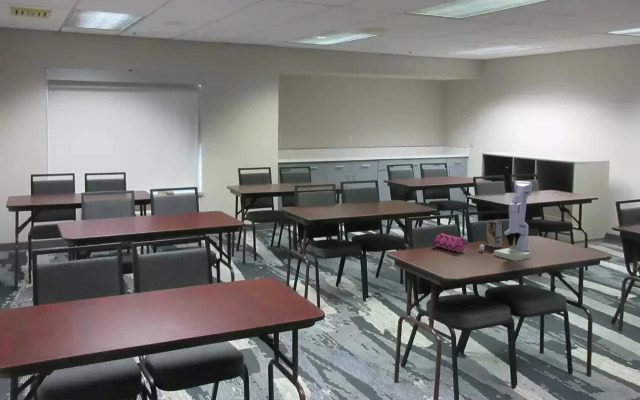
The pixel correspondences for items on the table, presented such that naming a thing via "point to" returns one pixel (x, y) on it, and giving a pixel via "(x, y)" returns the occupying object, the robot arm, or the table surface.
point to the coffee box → (494, 234)
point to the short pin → (481, 247)
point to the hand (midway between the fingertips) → (512, 245)
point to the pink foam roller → (450, 242)
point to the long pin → (513, 245)
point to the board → (512, 254)
